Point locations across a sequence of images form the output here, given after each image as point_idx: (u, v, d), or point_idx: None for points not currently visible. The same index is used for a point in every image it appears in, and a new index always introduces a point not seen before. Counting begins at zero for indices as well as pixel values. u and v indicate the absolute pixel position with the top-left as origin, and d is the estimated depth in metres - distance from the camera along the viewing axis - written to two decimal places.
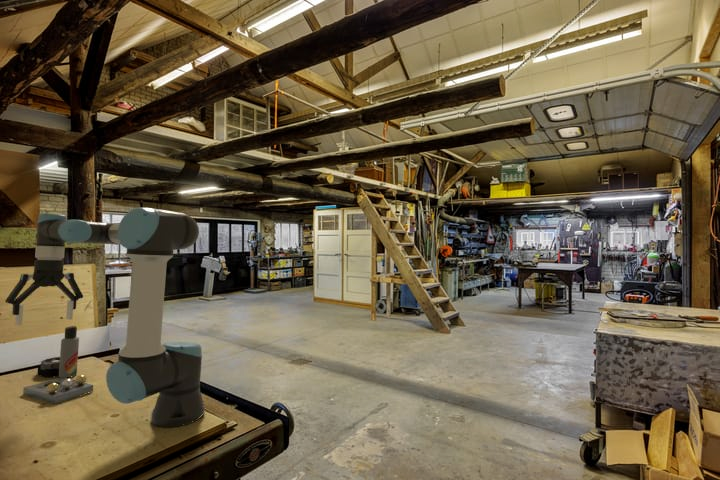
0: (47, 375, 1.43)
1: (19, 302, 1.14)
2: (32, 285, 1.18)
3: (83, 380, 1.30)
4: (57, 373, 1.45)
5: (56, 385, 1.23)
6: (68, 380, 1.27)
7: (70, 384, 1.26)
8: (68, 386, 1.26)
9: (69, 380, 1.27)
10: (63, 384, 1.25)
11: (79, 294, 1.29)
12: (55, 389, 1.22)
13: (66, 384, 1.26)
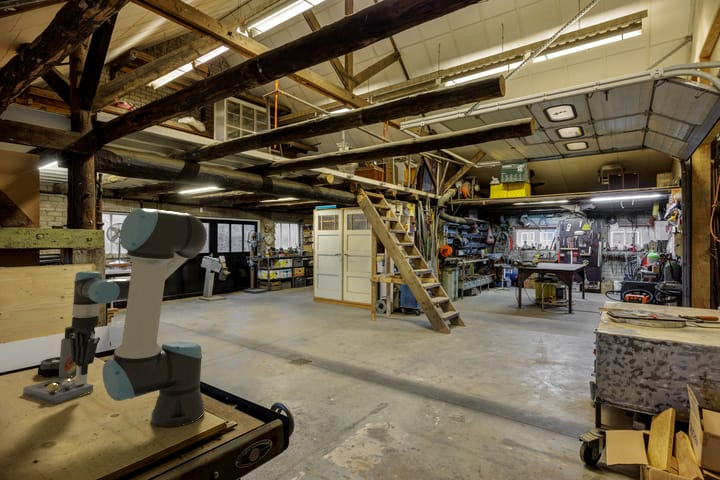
0: (46, 375, 1.43)
1: (76, 362, 1.24)
2: None
3: None
4: (56, 373, 1.45)
5: (56, 385, 1.23)
6: (68, 380, 1.27)
7: (70, 384, 1.26)
8: (68, 386, 1.26)
9: (69, 380, 1.27)
10: (63, 384, 1.25)
11: (85, 360, 1.22)
12: (55, 389, 1.22)
13: (66, 384, 1.26)
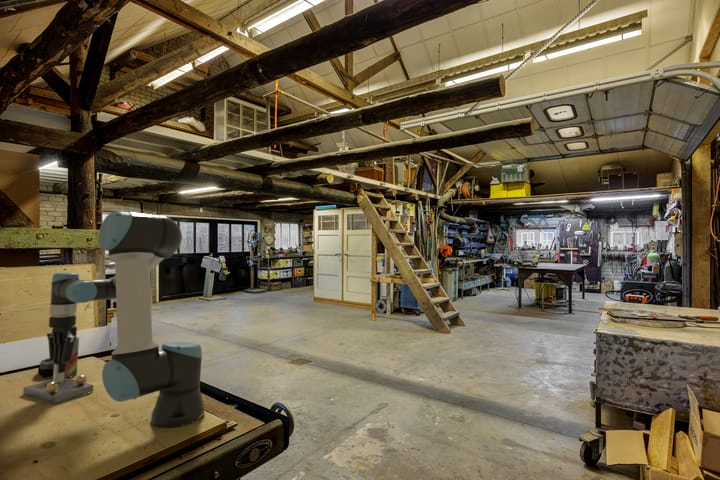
0: (45, 375, 1.43)
1: (54, 360, 1.28)
2: None
3: (83, 380, 1.30)
4: None
5: (56, 385, 1.23)
6: None
7: None
8: None
9: None
10: None
11: (61, 358, 1.27)
12: (55, 389, 1.22)
13: None
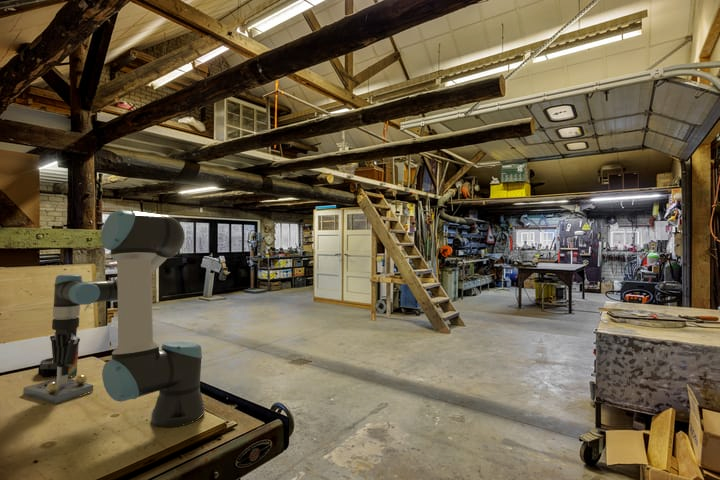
0: (44, 375, 1.43)
1: (57, 363, 1.27)
2: None
3: (83, 380, 1.30)
4: (54, 373, 1.45)
5: (56, 385, 1.23)
6: None
7: None
8: None
9: None
10: None
11: (65, 361, 1.26)
12: (55, 389, 1.22)
13: None
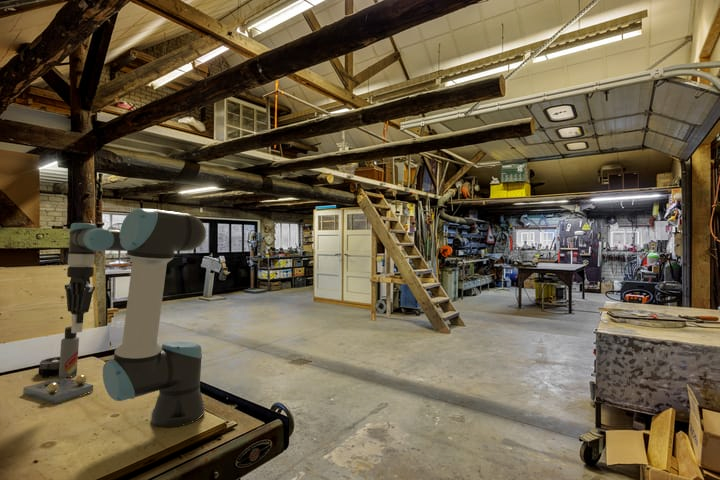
0: (43, 375, 1.43)
1: (72, 311, 1.27)
2: None
3: (83, 380, 1.30)
4: (53, 373, 1.45)
5: (56, 385, 1.23)
6: None
7: None
8: None
9: None
10: None
11: (80, 308, 1.26)
12: (55, 389, 1.22)
13: None
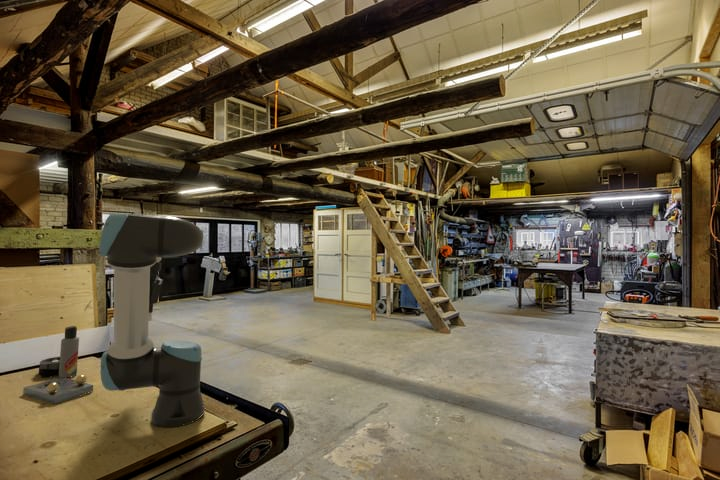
0: (43, 375, 1.43)
1: None
2: None
3: (83, 380, 1.30)
4: (53, 373, 1.45)
5: (56, 385, 1.23)
6: None
7: None
8: None
9: None
10: None
11: (151, 299, 1.40)
12: (55, 389, 1.22)
13: None
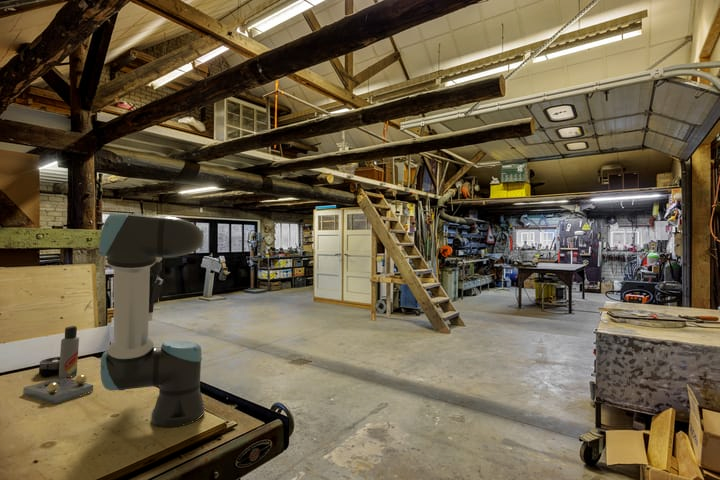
0: (42, 375, 1.43)
1: None
2: None
3: (83, 380, 1.30)
4: (52, 373, 1.44)
5: (56, 385, 1.23)
6: None
7: None
8: None
9: None
10: None
11: (151, 299, 1.40)
12: (55, 389, 1.22)
13: None
